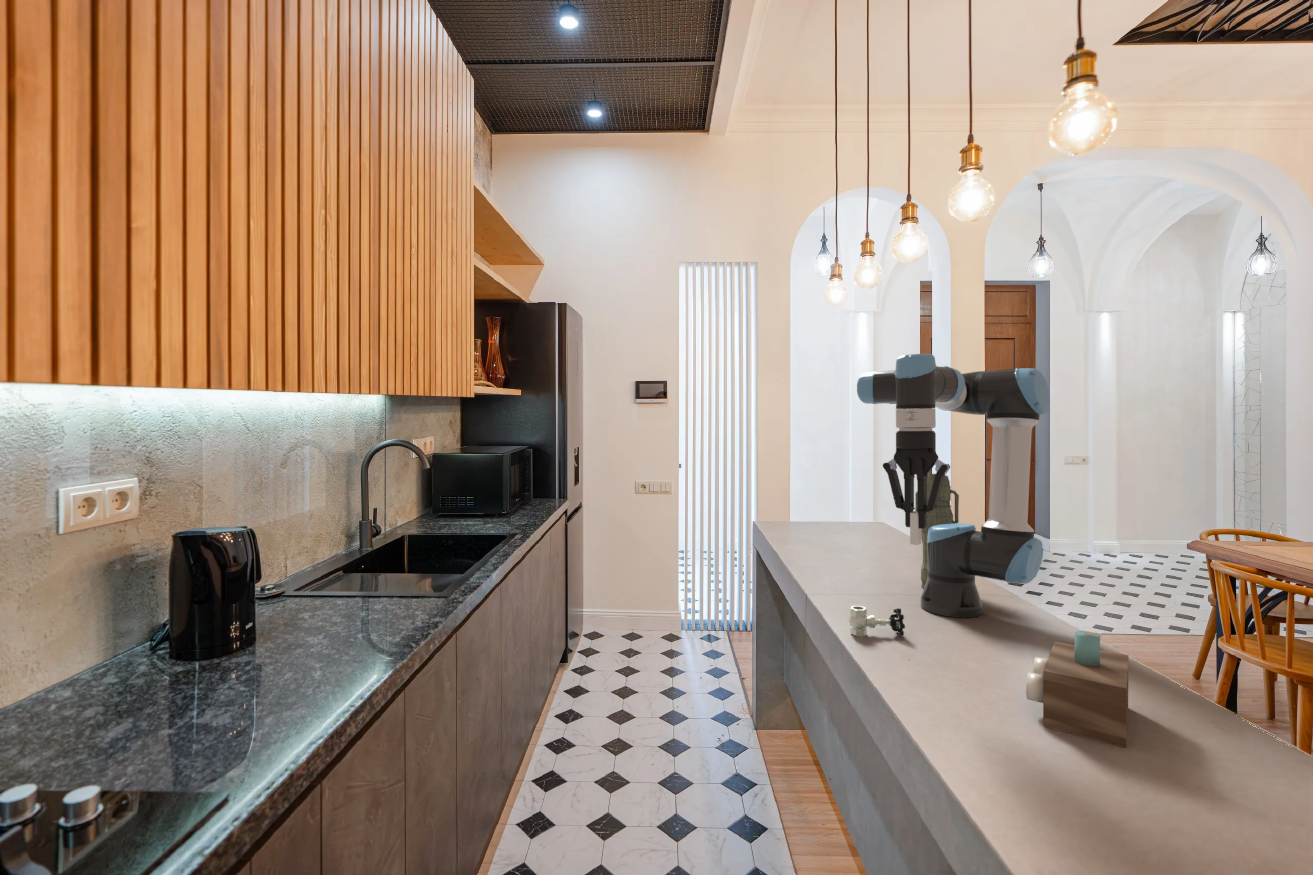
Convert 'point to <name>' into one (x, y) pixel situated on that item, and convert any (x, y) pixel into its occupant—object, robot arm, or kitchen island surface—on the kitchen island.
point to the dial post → (1087, 648)
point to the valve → (874, 621)
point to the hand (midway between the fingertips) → (915, 543)
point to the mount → (1086, 695)
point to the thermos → (937, 516)
